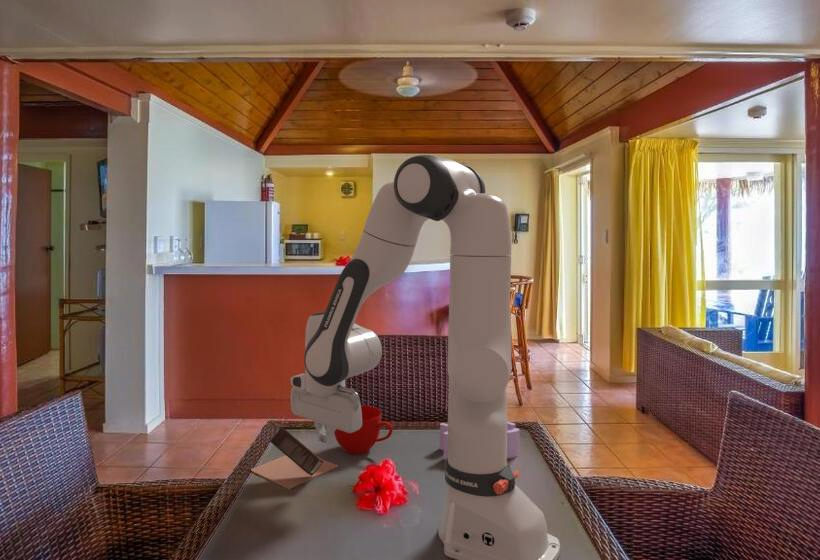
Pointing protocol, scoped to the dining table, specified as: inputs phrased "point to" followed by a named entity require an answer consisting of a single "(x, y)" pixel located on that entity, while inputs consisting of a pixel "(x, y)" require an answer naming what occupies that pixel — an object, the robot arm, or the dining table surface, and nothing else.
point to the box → (296, 451)
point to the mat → (289, 472)
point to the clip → (511, 440)
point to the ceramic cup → (363, 432)
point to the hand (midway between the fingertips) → (325, 441)
